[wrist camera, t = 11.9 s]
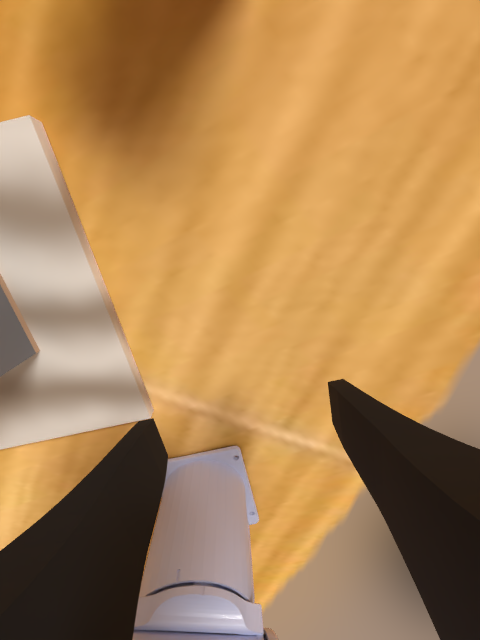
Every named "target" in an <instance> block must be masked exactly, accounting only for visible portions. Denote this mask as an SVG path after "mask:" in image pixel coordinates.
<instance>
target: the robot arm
mask: <svg viewBox="0 0 480 640" xmlns="http://www.w3.org/2000/svg"><path fill="white" fill-rule="evenodd" d="M328 388H329V396H330V405H331V413H332V422H333V425H334V427H335V430H336V432H337V434H338V437H339V439H340V441H341V443H342V445H343V448H344V449H345V451H346V453H347V455H348V456H349V458H350V460H351V461H352V463H353V465H354V467H355V468H356V470H357V472H358V473H359V475H360V477H361V478H362V480H363V482H364V484H365V485H366V487H367V489H368V490H369V492H370V494H371V495H372V497H373V499H374V501H375V502H376V504H377V506H378V507H379V509H380V511H381V513H382V515H383V517H384V519H385V521H386V523H387V525H388V527H389V529H390V531H391V533H392V535H393V537H394V540H395V542H396V544H397V546H398V548H399V550H400V552H401V554H402V556H403V559H404V561H405V563H406V565H407V567H408V569H409V571H410V574H411V576H412V578H413V580H414V582H415V584H416V586H417V589H418V591H419V593H420V595H421V598H422V599H423V602H424V604H425V606H426V609H427V611H428V613H429V615H430V618H431V619H432V622H433V624H434V626H435V629H436V631H437V633H438V635H439V638H440V640H480V449H477V448H475V447H472V446H470V445H467V444H465V443H462V442H460V441H457V440H455V439H452V438H450V437H448V436H446V435H443V434H441V433H439V432H436V431H434V430H432V429H429V428H428V427H426V426H423V425H422V424H419V423H417V422H416V421H414V420H412V419H410V418H408V417H406V416H404V415H402V414H400V413H398V412H397V411H395V410H393V409H391V408H389V407H388V406H386V405H384V404H382V403H381V402H379V401H377V400H376V399H374V398H372V397H371V396H369V395H368V394H366V393H364V392H363V391H361V390H360V389H358V388H356V387H355V386H353V385H352V384H350V383H349V382H347V381H345V380H344V379H341V380H336V381H331V382H328ZM235 456H237V457H235ZM161 497H162V500H161ZM160 501H161V504H160ZM159 504H160V508H159ZM158 508H159V513H158V517H157V521H156V525H155V529H154V533H153V537H152V541H151V545H150V549H149V554H148V558H147V562H146V566H145V570H144V565H145V560H146V556H147V551H148V547H149V543H150V539H151V535H152V531H153V528H154V524H155V520H156V516H157V512H158ZM258 521H259V515H258V512H257V508H256V504H255V501H254V497H253V494H252V490H251V486H250V483H249V479H248V475H247V472H246V468H245V464H244V461H243V457H242V453H241V450H240V448H239V447H238V446H231V447H226V448H221V449H216V450H211V451H206V452H201V453H196V454H192V455H187V456H182V457H177V458H172V459H168V454H167V452H166V449H165V447H164V444H163V442H162V439H161V437H160V434H159V432H158V429H157V427H156V424H155V422H154V419H148V420H143V421H139V422H138V423H137V424H136V425H135V426H134V427H133V428H132V429H131V430H130V431H129V432H128V433H127V434H126V435H125V436H124V437H123V438H122V439H121V440H120V441H119V442H118V444H117V445H116V446H115V447H114V448H113V449H112V450H111V451H110V452H109V453H108V454H107V455H106V456H105V457H104V459H103V460H102V461H101V462H100V463H99V464H98V465H97V466H96V467H95V468H94V469H93V470H92V471H91V472H90V473H89V474H88V475H87V476H86V477H85V478H84V479H83V480H82V481H81V482H80V483H79V484H78V485H77V486H76V487H75V488H74V489H73V490H72V491H71V492H70V493H69V494H68V495H66V496H65V497H64V498H63V499H62V500H61V501H60V502H59V503H58V504H57V505H55V506H54V507H53V508H52V509H51V510H50V511H49V512H48V513H46V514H45V515H44V516H43V517H42V518H41V519H39V520H38V521H37V522H36V523H35V524H33V525H32V526H31V527H30V528H28V529H27V530H26V531H25V532H23V533H22V534H21V535H20V536H19V537H17V538H16V539H15V540H14V541H12V542H11V543H10V544H9V545H7V546H6V547H5V548H4V549H2V550H1V551H0V640H278V638H277V636H276V634H275V632H274V631H273V630H272V629H269V628H263V621H262V609H261V605H260V604H257V603H254V586H253V572H252V558H251V544H250V530H249V525H251V524H256V523H257V522H258ZM143 570H144V574H143ZM142 576H143V578H142Z"/></svg>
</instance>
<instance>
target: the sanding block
mask: <svg viewBox="0 0 480 640" xmlns="http://www.w3.org/2000/svg"><path fill="white" fill-rule="evenodd" d="M39 351H40V350H39V348H38V346H37V344H36V342H35V340H34V338H33V336H32V334H31V332H30V330H29V328H28V326H27V324H26V322H25V320H24V318H23V317H22V315H21V313H20V311H19V309H18V307H17V305H16V303H15V301H14V299H13V297H12V295H11V293H10V291H9V289H8V287H7V285H6V283H5V282H4V280H3V278H2V276H1V274H0V377H1V376H2V375H4V374H5V373H7V372H8V371H10V370H11V369H13V368H14V367H16V366H17V365H19V364H21V363H22V362H24V361H25V360H27V359H28V358H30V357H31V356H33V355H34V354H36V353H37V352H39Z"/></svg>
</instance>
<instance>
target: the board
mask: <svg viewBox="0 0 480 640" xmlns="http://www.w3.org/2000/svg"><path fill="white" fill-rule="evenodd" d="M0 274H1V276H2V278H3V280H4V282H5V283H6V285H7V287H8V289H9V291H10V293H11V295H12V297H13V299H14V301H15V303H16V305H17V307H18V309H19V311H20V313H21V315H22V317H23V318H24V320H25V322H26V324H27V326H28V328H29V330H30V332H31V334H32V336H33V338H34V340H35V342H36V344H37V346H38V348H39V350H40V351H39V352H37V353H36V354H34V355H33V356H31V357H30V358H28V359H27V360H25V361H24V362H22V363H21V364H19V365H17V366H16V367H14V368H13V369H11V370H10V371H8V372H7V373H5V374H4V375H2V376H1V377H0V449H5V448H10V447H15V446H19V445H24V444H29V443H34V442H39V441H44V440H48V439H53V438H58V437H63V436H68V435H72V434H77V433H82V432H87V431H92V430H96V429H101V428H106V427H111V426H116V425H121V424H125V423H130V422H135V421H140V420H145V419H149V418H151V416H152V413H153V411H154V409H153V406H152V404H151V401H150V399H149V396H148V393H147V391H146V388H145V386H144V383H143V381H142V378H141V375H140V373H139V370H138V368H137V365H136V363H135V360H134V357H133V355H132V352H131V350H130V347H129V345H128V342H127V339H126V337H125V334H124V332H123V329H122V327H121V324H120V322H119V319H118V316H117V314H116V311H115V309H114V306H113V304H112V301H111V298H110V296H109V293H108V291H107V288H106V286H105V283H104V280H103V278H102V275H101V273H100V270H99V268H98V265H97V262H96V260H95V257H94V255H93V252H92V250H91V247H90V245H89V242H88V239H87V237H86V234H85V232H84V229H83V227H82V224H81V221H80V219H79V216H78V214H77V211H76V209H75V206H74V203H73V201H72V198H71V196H70V193H69V191H68V188H67V186H66V183H65V180H64V178H63V175H62V173H61V170H60V168H59V165H58V162H57V160H56V157H55V155H54V152H53V150H52V147H51V144H50V142H49V139H48V137H47V134H46V132H45V129H44V126H43V124H42V122H40V121H39V120H37V119H35V118H33V117H32V116H30V115H28V116H24V117H20V118H16V119H11V120H7V121H3V122H0Z"/></svg>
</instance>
